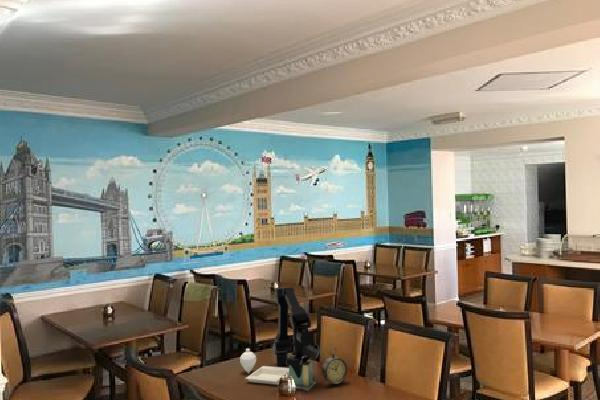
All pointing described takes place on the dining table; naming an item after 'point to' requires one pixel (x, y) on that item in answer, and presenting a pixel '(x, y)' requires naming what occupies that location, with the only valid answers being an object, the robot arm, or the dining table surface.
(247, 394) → the dining table surface
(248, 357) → the spinning top
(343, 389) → the dining table surface
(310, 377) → the tea tin
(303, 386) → the mat
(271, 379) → the white rectangular tray
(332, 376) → the alarm clock
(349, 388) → the dining table surface
